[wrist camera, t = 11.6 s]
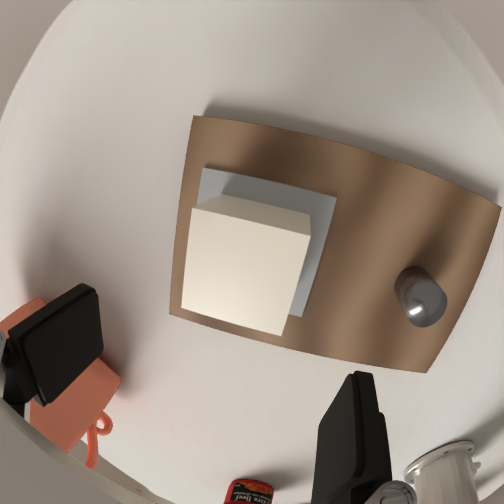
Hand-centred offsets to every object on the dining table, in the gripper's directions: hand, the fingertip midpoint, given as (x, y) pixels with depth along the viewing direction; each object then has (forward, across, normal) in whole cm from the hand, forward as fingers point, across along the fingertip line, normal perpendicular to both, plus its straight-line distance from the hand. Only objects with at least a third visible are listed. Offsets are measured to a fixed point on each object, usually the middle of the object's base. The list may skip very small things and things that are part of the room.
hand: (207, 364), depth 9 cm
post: (+12, -11, -1) cm, 16 cm away
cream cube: (+11, +1, -1) cm, 11 cm away
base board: (+13, -5, -1) cm, 14 cm away
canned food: (+14, -7, +42) cm, 45 cm away
